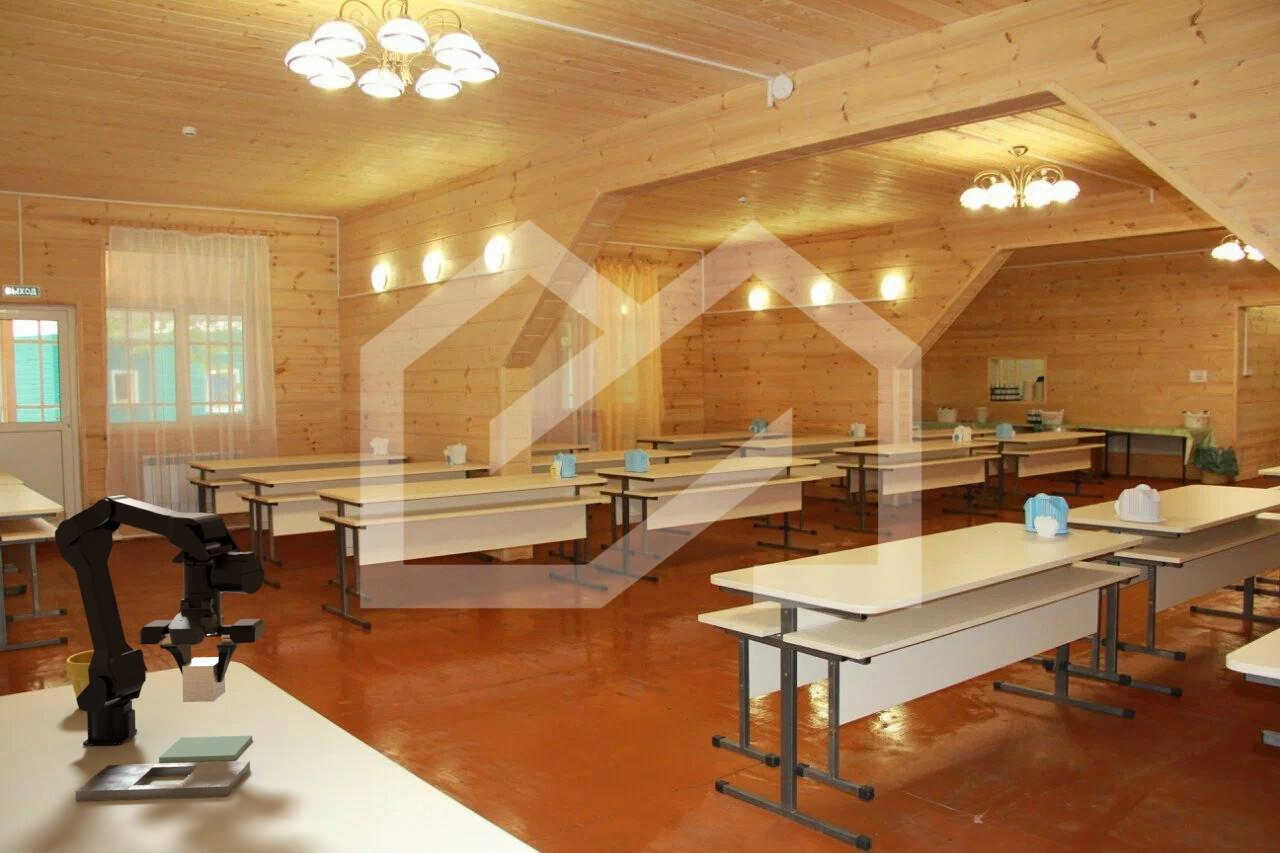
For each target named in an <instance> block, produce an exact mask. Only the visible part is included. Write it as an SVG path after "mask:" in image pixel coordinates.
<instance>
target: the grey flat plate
mask: <svg viewBox="0 0 1280 853" xmlns="http://www.w3.org/2000/svg"><path fill="white" fill-rule="evenodd" d="M250 771H251V760H225V761H192V762H158V763H138V764H137V763H132V764H131V763H128V764H107V765H106V766H105V767H104V768H102V769H101V770H100V771H99V772H97V773H96V774H94V776H92V777H91V778H90V779H89V780H88V781H87V782H85V783H84V784H83V785H81V786H80V787H79V788H78V789H76V790H75V802H89V801H90V802H93V801H94V802H96V801H119V800H120V801H126V800H127V801H128V800H152V799H155V800H156V799H158V800H159V799H179V798H180V799H184V798H185V799H186V798H189V799H190V798H217V797H219V798H220V797H229V796H230V794H232V793H233V790H234V789H236V787H238V785H239V783H240V782H242V780H243V779H244V778H245V777H246V775H248V773H249V772H250ZM184 775H185V778H184V780H183V781H182V782H181V783H173V784H172V783H169V784H168V783H167V784H147V782H149V781H150V780H151V779H152V778H153V777H155V778H156V777H157V778H158V777H177V776H178V777H182V776H184ZM186 775H189V776H186Z"/></svg>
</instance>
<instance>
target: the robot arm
mask: <svg viewBox="0 0 1280 853" xmlns="http://www.w3.org/2000/svg"><path fill="white" fill-rule="evenodd" d="M123 525H125V526H129V527H133V528H135V529H138V530H143V531H146V532H150V533H153V534H157V535H159V536H163V537H164V538H166V539H167V541H168V543H169V544H170V545H172V546H173V547H175V548H178V549H179V550H180V552H179V553H177V555H175V556H174V557H173V558H172V559H171V561H172V563H173V564H181V565H182V566H183V567H182V568H183V572H182V574H183V575H182V576H183V598H182V599H180V604H179V605H180V607H179V611H178V613H177V614H176V615H175V616H174V617H173V619H157V620H156V619H155V620H152V621H151V622H149V623H147V624H146V625H144V626H142V627H141V629H140V630H139V633H138V639H139V641H138V642H139V643H138V644H140V645H158V644H160V643H161V645H159V648H160V649H162V650H166V651H167V652H169V653H171V655H172V656H173V658H174V660H175V662H176V663H177V667H178V668H179V671H180V673H181V675H182V677H183V674H182V666H183V665H185V664H186V663H188V662H189V661H191V660H192V646H197V645H200V644H201V643H203V641H204V638H210V637H211V638H213V637H220V638H221V642H219V643H218V644H217V645H215V646H216V649H217V652H218V673H217V674H218V682H222V681H223V679H224V676H225V677H226V673H227V671H228V668H229V665H230V662H231V660H232V657H233V655H234V653H235V652H236V649H237V648H238V646H239V645H240V644H251V643H256V642H257V641H258V640H260V639H261V638H262V637H263V636H264V635H266V624H265V622H264V621H263V620H262V618H241V619H239V620H237V621H236V622H234V623H233V624H228V625H227V624H223V623H224V622H225V616H224V615H222V599H224V596H225V594H224V593H230V594H231V593H232V594H243V595H244V594H245V595H253V594H255V593H257V592H258V591H259V590H260V589H261V588H262V586H263V583H264V580H265V569H264V568H263V565H262V563H261V562H260V561H259V560H258V559H256V552H255V551H245V552H244V551H243V552H242V551H241V548H240V546H239V545H238V543H237V541H236V540H235V539H234V537H233V536H232V534H231V532H230V530H229V529H228V527H227V525H226V523H225V521H224V517H222V516H221V515H219V514H217V513H209V512H181V511H180V512H179V511H175V510H173V509H169V508H166V507H162V506H159V505H155V504H152V503H148V502H144V501H141V500H138V499H134V498H131V497H130V496H128V495H125V494H121V495H120V494H119V495H112V496H104V497H102V498H101V499H98V500H97V501H96V502H95V503H94V504H93V505H90V506H89V507H87V508H85V509H83V510H82V511H80V512H78V513H76V514H73V515H72V516H71V517H70V518H66V519H64V520H62V521H61V522H60V523H59V524H58V526H57V528H56V529H55V531H54V539H55V542H56V545H57V548H58V550H59V553H60V555H61V558H62V559H63V560H64V561H65V562H66V563H67V564H68V565H69V566H70V567H72V569H73V570H74V571H75V575H76V578H77V583H78V586H79V591H80V596H81V600H82V604H83V608H84V614H85V617H86V622H87V625H88V626H87V627H88V631H89V634H90V638H91V643H92V646H93V647H92V648H93V650H94V653H93V656H92V659H91V662H90V665H89V668H88V674H89V684H88V685H87V687H86V688H85V689H84V690H83V691H82V692H81V694H80V695H79V696H78V697H77V698H76V697H75V698H76V703H77V707H78V709H79V711H81V712H82V711H84V712H86V717H87V718H86V720H87V722H86V724H87V725H86V726H87V739H85V740H84V741H83V742H82V745H83V746H104V745H105V746H107V745H111V746H112V745H121V744H124V742H126V741H128V740H129V739H130V738H131V737H132V736H134V735H135V734H136V733H137V732H138V728H136V710H135V709H133V700H136V699H139V698H140V695H141V691H142V688H143V685H144V684H145V682H146V681H147V674H146V672H147V671H148V670H149V669H148V667H147V665H146V664H145V658H144V652H143V650H142V649H141V648H138V649H134V648H133V647H132V646H130V645H129V643H128V642H127V640H126V636H125V632H124V628H123V624H122V623H123V622H122V620H121V616H120V611H119V605H118V602H117V597H116V593H115V590H114V585H113V581H112V576H111V573H110V568H109V563H108V562H109V560H110V557H111V554H112V551H113V548H114V540H113V534H115V533H116V532H118V531H119V529H121V528H122V526H123Z"/></svg>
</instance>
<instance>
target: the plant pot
mask: <svg viewBox="0 0 1280 853" xmlns="http://www.w3.org/2000/svg"><path fill="white" fill-rule="evenodd" d="M93 653H94V649H92V650H85V651H82V652H78V653H75V654H73V655H70V656H69V657H68V658H67V659H66V662H65V664H66V666H65V667H66V668H65V669H66V678H68V679H70V681H71V685H72V687H73V692H74V694H75V698H77V697H78V696H79V695H80V694H81V692H82V691H83V690H84V689H85V688H86V687H87V685H88V684H89V674H88V668H89V665H90V662H91V659H92V656H93Z"/></svg>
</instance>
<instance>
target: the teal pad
mask: <svg viewBox="0 0 1280 853" xmlns="http://www.w3.org/2000/svg"><path fill="white" fill-rule="evenodd" d="M252 741H253V735H229V736H228V735H227V736H225V735H224V736H223V735H222V736H221V735H220V736H199V737H198V736H193V737H192V736H191V737H190V736H189V737H186V736H185V737H180V738H179V739H178V740H177V741H176V742H175V743H174V744H172V746H170V747H169V748H168V749H166V751H165V752H164V753H162V754H161V755H160V756H159V757H158V763H184V762H217V761H236V759H237V758H238V757H239V756H240V754H241V753H242V752H243V751H244V750H245V749H246V748H247V746H248V745H249V744H250V743H251V742H252Z"/></svg>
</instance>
